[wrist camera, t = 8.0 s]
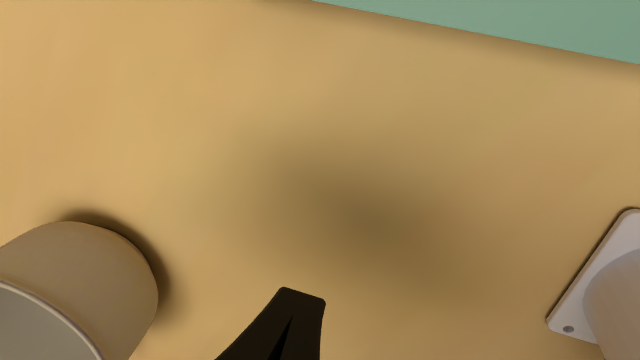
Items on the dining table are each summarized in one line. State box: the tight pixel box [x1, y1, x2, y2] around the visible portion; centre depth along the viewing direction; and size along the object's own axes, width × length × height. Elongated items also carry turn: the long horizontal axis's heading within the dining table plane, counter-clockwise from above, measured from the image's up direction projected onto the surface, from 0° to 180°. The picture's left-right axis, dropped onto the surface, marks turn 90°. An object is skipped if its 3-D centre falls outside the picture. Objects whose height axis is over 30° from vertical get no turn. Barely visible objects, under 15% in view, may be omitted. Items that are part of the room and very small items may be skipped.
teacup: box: [0, 221, 158, 360], centre depth 25 cm, size 14×11×8 cm
